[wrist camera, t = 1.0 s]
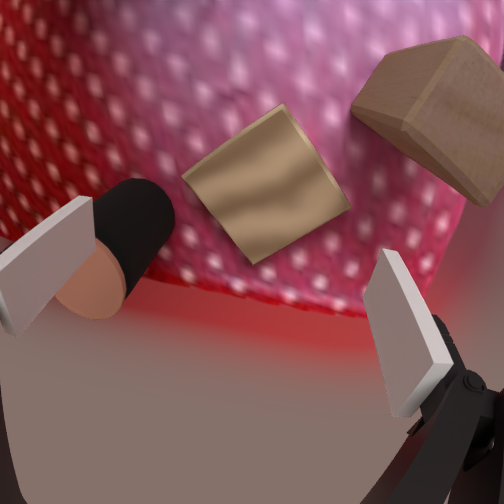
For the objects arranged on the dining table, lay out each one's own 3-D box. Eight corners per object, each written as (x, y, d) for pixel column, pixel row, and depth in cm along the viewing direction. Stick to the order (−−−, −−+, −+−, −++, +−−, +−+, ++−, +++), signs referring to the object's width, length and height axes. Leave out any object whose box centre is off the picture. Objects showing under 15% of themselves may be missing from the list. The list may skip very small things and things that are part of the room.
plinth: (188, 169, 41) (179, 178, 38) (282, 102, 36) (282, 103, 32) (255, 253, 46) (252, 268, 43) (347, 199, 41) (352, 210, 37)
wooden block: (406, 156, 37) (486, 216, 20) (345, 110, 35) (400, 133, 18) (445, 99, 33) (545, 123, 15) (386, 50, 31) (469, 28, 13)
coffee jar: (113, 169, 42) (34, 220, 26) (182, 184, 42) (124, 247, 26) (110, 233, 47) (45, 302, 31) (172, 251, 47) (124, 332, 32)
